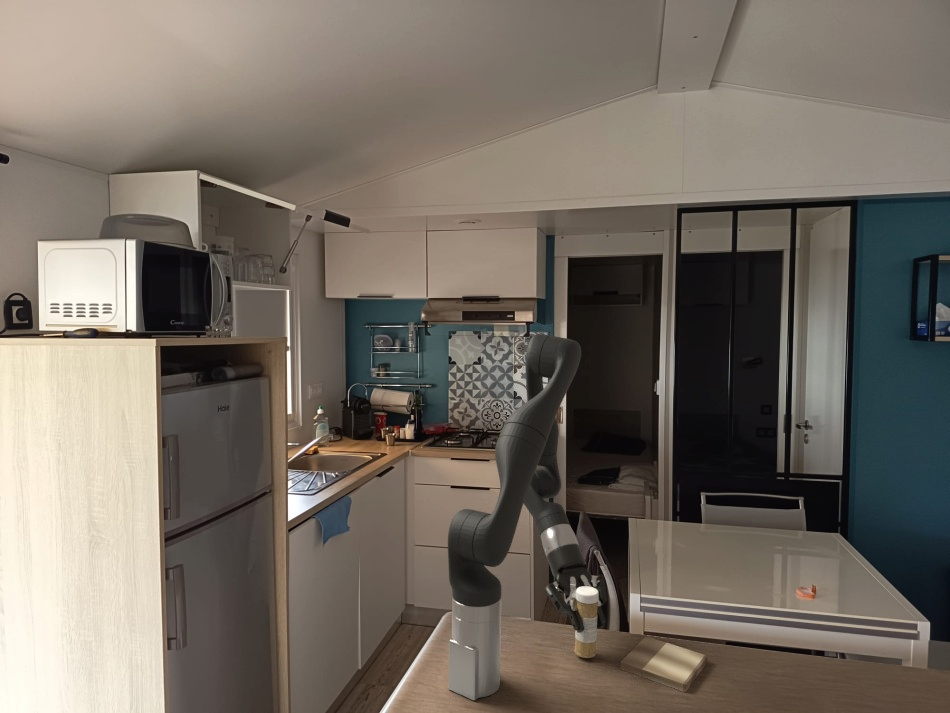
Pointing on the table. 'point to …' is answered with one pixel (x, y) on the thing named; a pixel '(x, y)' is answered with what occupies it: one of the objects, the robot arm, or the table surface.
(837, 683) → the table surface
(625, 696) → the table surface
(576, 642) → the sprinkles bottle
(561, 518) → the robot arm
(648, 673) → the board
